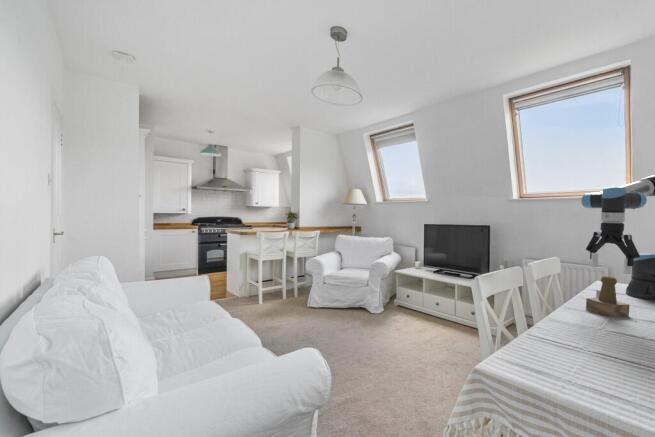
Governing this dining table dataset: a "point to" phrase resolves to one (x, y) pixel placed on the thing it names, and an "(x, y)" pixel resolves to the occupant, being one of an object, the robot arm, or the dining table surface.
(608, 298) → the cork
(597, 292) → the slate block
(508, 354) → the dining table surface
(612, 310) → the walnut block
